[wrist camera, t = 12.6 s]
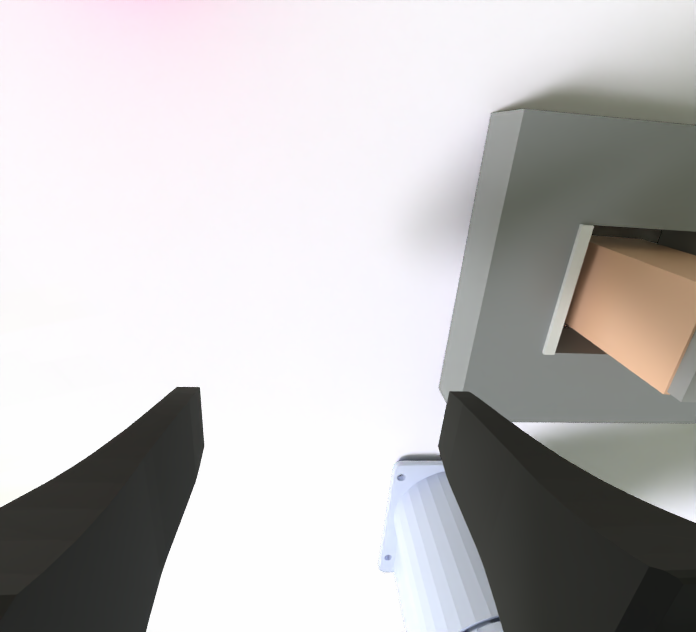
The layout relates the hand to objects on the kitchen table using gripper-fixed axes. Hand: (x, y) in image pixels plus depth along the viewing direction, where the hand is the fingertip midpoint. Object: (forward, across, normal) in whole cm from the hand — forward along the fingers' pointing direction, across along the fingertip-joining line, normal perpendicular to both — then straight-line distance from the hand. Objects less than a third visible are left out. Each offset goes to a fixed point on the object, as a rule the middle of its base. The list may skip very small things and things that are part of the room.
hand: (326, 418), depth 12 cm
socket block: (+9, -14, -2) cm, 17 cm away
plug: (+9, -14, -2) cm, 17 cm away
